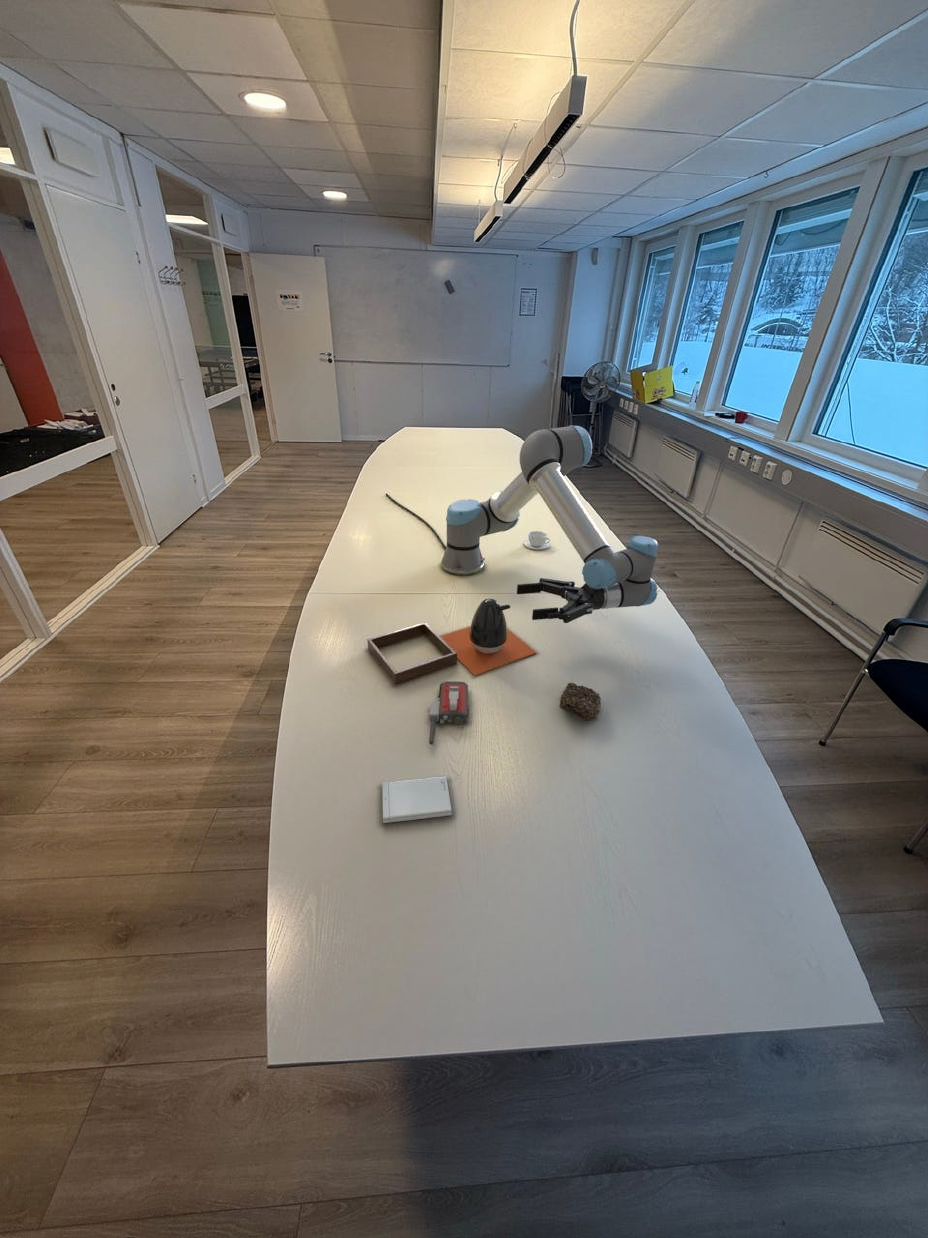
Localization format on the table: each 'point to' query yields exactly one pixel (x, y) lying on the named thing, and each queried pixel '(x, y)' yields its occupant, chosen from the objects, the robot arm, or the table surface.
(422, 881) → the table surface
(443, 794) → the hard drive
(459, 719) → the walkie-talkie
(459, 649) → the mat
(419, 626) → the brown wooden square frame
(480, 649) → the pump dispenser
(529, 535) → the teacup
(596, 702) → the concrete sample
